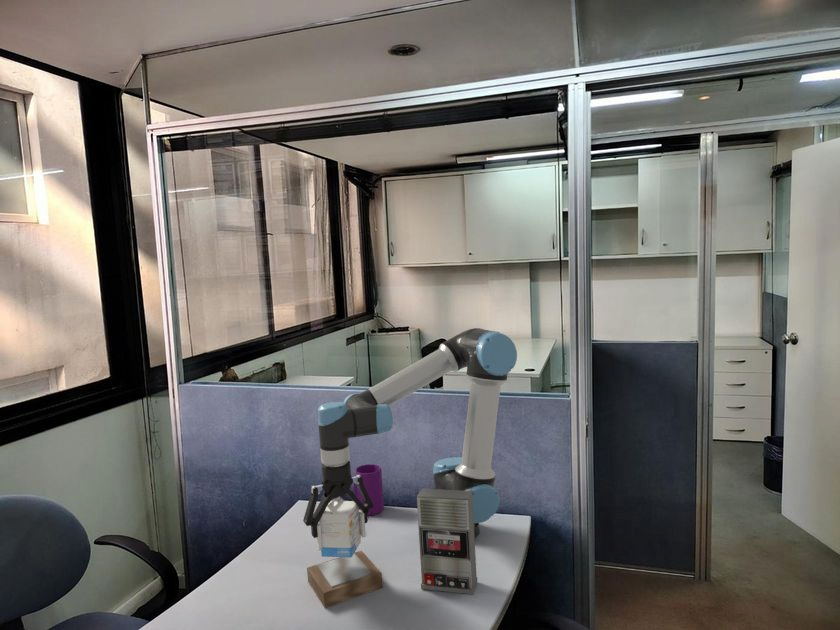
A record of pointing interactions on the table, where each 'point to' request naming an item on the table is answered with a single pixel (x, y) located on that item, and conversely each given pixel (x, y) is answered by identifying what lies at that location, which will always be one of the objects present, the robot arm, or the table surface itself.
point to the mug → (371, 487)
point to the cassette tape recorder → (447, 540)
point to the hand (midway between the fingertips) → (341, 541)
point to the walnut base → (344, 578)
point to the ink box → (340, 529)
